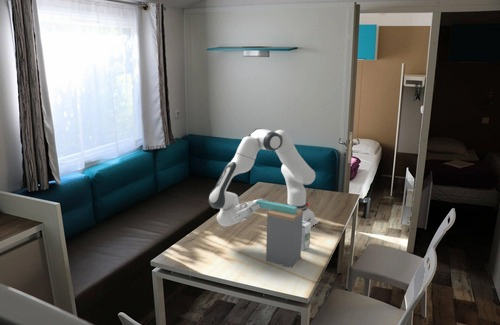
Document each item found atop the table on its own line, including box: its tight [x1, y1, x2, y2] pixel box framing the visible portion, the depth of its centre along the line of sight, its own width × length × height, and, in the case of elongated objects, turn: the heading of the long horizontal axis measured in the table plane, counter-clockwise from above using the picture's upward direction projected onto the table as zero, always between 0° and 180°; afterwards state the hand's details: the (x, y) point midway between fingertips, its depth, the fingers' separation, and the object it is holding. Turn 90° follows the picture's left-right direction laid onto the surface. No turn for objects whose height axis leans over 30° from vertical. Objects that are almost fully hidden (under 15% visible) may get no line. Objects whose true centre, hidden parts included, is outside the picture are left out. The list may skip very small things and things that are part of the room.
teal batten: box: [256, 199, 297, 214], centre depth 214 cm, size 21×3×3 cm, turn 62°
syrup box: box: [301, 221, 312, 252], centre depth 230 cm, size 6×6×14 cm
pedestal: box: [265, 209, 303, 268], centre depth 215 cm, size 14×12×26 cm
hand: (263, 203), depth 217 cm, fingers open, 6 cm apart
